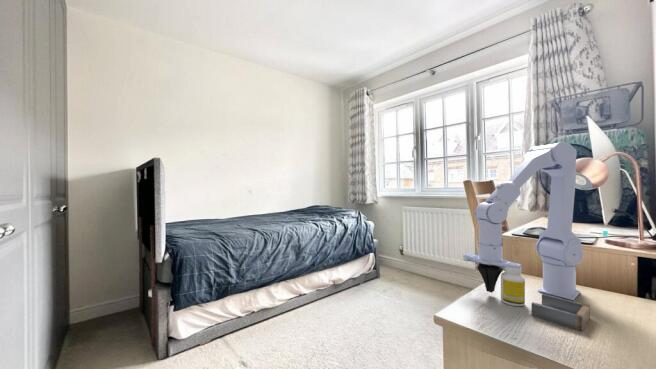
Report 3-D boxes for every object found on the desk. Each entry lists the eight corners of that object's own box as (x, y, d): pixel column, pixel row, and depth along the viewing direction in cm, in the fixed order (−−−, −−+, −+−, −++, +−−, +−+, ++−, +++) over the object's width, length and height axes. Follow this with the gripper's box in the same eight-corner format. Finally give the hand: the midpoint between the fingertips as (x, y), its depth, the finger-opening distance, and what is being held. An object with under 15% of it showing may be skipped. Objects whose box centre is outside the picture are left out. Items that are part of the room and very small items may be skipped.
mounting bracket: (542, 304, 71) (542, 293, 71) (589, 318, 64) (589, 305, 64) (531, 315, 65) (531, 303, 65) (581, 331, 58) (581, 317, 58)
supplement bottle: (529, 307, 69) (529, 270, 69) (506, 306, 70) (505, 269, 70) (518, 299, 75) (518, 264, 75) (497, 297, 76) (497, 263, 76)
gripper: (458, 241, 80) (458, 286, 80) (514, 250, 69) (514, 303, 69) (469, 238, 85) (469, 281, 85) (523, 246, 73) (523, 296, 73)
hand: (490, 290), depth 77 cm, fingers closed
